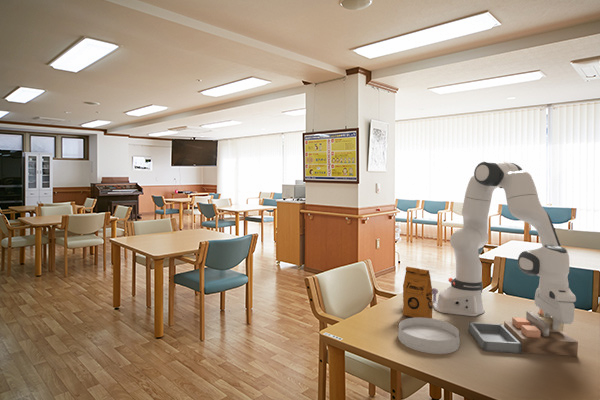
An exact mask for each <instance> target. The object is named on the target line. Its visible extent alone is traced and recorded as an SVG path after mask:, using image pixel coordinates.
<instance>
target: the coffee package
mask: <svg viewBox="0 0 600 400" xmlns="http://www.w3.org/2000/svg"><path fill="white" fill-rule="evenodd" d="M402 284H403V285H402V302H403V304H402V305H403V306H402V315H403V316H406V317H409V318H418V317H421V318H431V319H433V311H434V310H433V308H434V307H433V295H432V289H433V286H432V279H431V274H430V270H429V269H422V268H418V267H413V266H412V267H411V266H406V267H405V274H404V280H403V283H402Z"/></svg>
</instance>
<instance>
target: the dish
mask: <svg viewBox="0 0 600 400" xmlns="http://www.w3.org/2000/svg"><path fill="white" fill-rule="evenodd" d="M397 337H398V341H400V344H403V345H404V347H405V346H406V347H407V348H410V349H412V350H415V351H418V352H422V353H425V354H435V355H443V354H450V353H454V352H456V351H458V350H459V348H460V341H461V339H460V331H459V329H458V328H457V327H456V326H455V325H453V324H451V323H449V322H446V321H443V320H442V319H441V320H440V319H436V318H432V319H431V318H421V317H418V318H413V317H409V318H405V319H403V320H400V322H399V324H398V331H397Z"/></svg>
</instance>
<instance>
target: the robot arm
mask: <svg viewBox="0 0 600 400" xmlns="http://www.w3.org/2000/svg"><path fill="white" fill-rule="evenodd" d="M473 174H474V175H473V176H471V177H470V178H469V181H468V184H467V187H466V191H465V194H464V199H463V203H462V208H461V209H462V210H461V215H462V219H463V220H462V221H463V223H462V224H463V226H462V228H459V229H456V230H455V231H454V232H453V233H452V234H451V236H450V237H449V238H450V239H449V243H450V246H451V248H452V249H453V253H454V258H455V278H453V277H449V278H448V282H449V283H450V286H448V287H447V288H446V289H444V290H442V291H441V292H440V293H438V298H437V300H436V301H434V302H433V301H432V302H433V308H434V310H435V311H437V312H439V313H442V314H451V315H459V316H467V317H477V316H478V315H481V314H484V313H485V309H484V304H483V295H482V293H483V289H484V288H483V287H484V284H483V281H482V279H483V278H482V276H483V271H482V270H483V264H482V262H481V259H480V254H479V249H481V248H483V247H484V246H486V244H487V242H488V241H489V233H488V224H489V223H488V217H489V214H490V213H489V212H490V207H491V202H492V197H493V193H494V191H495V189H497V188H499V189H503V190H504V193H505V199H506V204H507V208H508V211H509V213H510V215H512V217H514V218H515V219H517V220H520V221H522V222H525V223H526V224H529V225H530V226H532V227H533V228H534V229H535V230H536V231H537V235H538V237H539V239H540V243H541V245H542V246H541V247H539V248H536V249H530V250H524V251H522V252H520V254H519V255H518V257H517V266H518V268H519V270H520V271H521V272H522V273H523V274H525V275H528V276H537V277H539V284H538V286H537V288H536V290H535V294H534V304H535V306H536V307H537V308H538V309H539V308H540V309H542V310H543V311H544V316H543V317H553V320H554V321H553V323H551V327H552V328H553V329H555V330H558V329H559V324H560V323H563V324H564V325H571V324H572V323H573V322H574V320H575V308H576V307H575V304H574V303H575V302H576V301H577V297H576V295H575V294H574V293H573V292H572V290H571V288H570V287H569V280H568V275H569V273H570V256H569V252H568V250H567V249H566V248H565V247H563V246H561V243H560V240H559V238H558V234H557V232H556V229H555V226H554V224H553V221H552V218H551V216H550V214H549V213H548V212H547V211H546V210H545V208H544V207H543V206H542V204H541V202H540V198H539V194H538V192H537V187H536V185H535V182H534V180H533V177H532V175H531V174H530V173H529V172H528V171H525V170H523V168H522V167H521V166H519V164H516V163H514V162H508V161H501V160H498V161H497V160H496V161H492V160H485V161H482V162H480V163H478V164H477V165H476V167H475V168H474V172H473Z"/></svg>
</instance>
